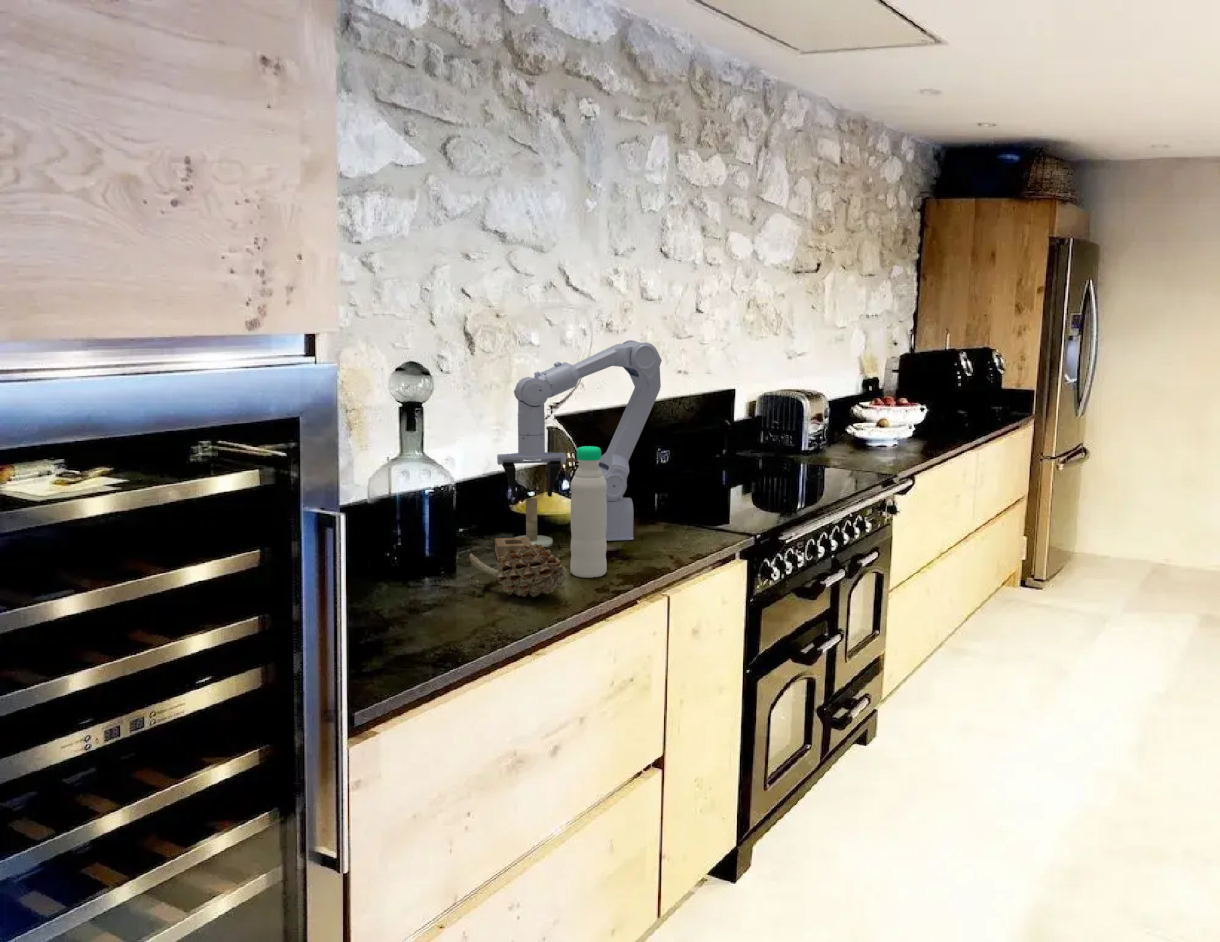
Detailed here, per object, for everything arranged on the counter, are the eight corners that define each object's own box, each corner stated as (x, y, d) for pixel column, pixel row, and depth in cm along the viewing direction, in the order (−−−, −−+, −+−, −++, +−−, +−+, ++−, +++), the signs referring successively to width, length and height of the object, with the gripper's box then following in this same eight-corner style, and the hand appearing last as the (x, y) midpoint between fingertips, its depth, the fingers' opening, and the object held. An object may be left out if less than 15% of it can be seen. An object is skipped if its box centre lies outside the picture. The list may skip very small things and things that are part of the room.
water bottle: (602, 579, 208) (603, 450, 204) (566, 577, 209) (566, 449, 205) (609, 570, 215) (610, 445, 210) (575, 568, 216) (575, 443, 212)
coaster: (549, 537, 241) (549, 534, 241) (555, 547, 232) (555, 544, 232) (509, 539, 239) (509, 535, 239) (513, 549, 230) (513, 545, 230)
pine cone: (577, 596, 197) (577, 543, 195) (549, 610, 189) (548, 554, 187) (478, 579, 208) (478, 528, 206) (447, 591, 200) (446, 538, 198)
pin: (537, 538, 237) (536, 498, 235) (537, 541, 234) (537, 500, 233) (526, 538, 237) (525, 498, 235) (526, 541, 234) (526, 500, 233)
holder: (528, 551, 229) (528, 537, 229) (532, 559, 222) (532, 545, 222) (495, 552, 228) (495, 538, 227) (498, 561, 221) (497, 546, 220)
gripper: (562, 430, 237) (562, 491, 239) (495, 432, 234) (496, 493, 237) (567, 435, 230) (567, 498, 233) (498, 436, 227) (499, 500, 230)
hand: (531, 496), depth 234 cm, fingers open, 7 cm apart
